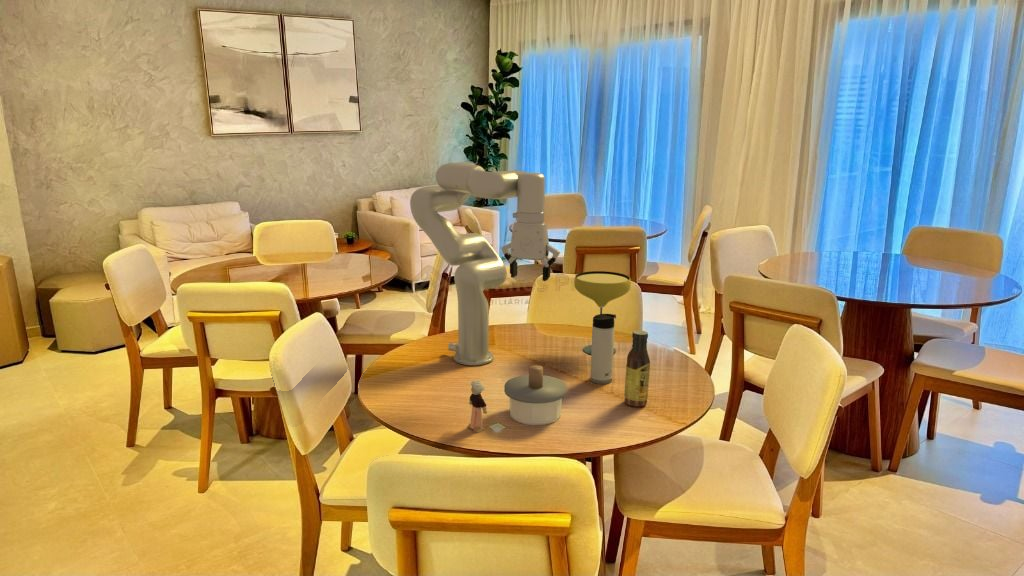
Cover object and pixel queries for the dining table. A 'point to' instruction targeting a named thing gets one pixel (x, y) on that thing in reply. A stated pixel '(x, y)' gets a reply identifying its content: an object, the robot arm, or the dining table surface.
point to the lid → (535, 387)
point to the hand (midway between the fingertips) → (529, 278)
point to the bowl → (535, 412)
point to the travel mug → (602, 348)
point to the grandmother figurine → (477, 406)
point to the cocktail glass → (601, 289)
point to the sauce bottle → (637, 371)
